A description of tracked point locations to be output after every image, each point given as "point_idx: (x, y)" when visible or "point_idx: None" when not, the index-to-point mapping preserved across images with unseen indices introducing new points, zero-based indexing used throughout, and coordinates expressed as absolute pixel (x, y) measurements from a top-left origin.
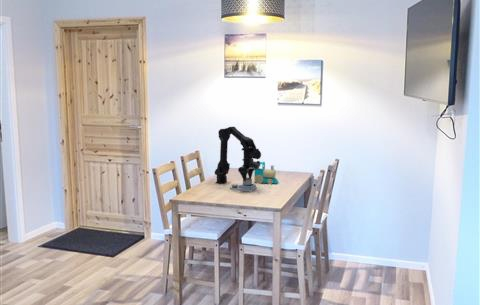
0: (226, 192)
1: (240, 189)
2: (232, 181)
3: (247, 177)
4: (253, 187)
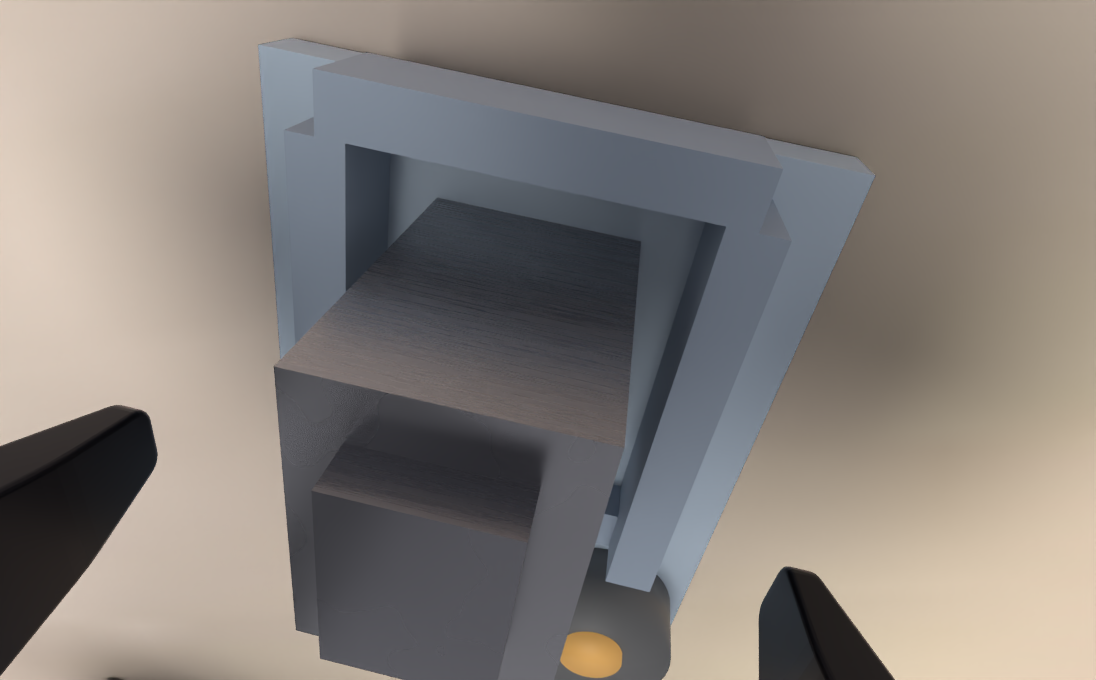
0: (946, 674)
1: (733, 469)
2: None
3: (324, 605)
4: (597, 110)
